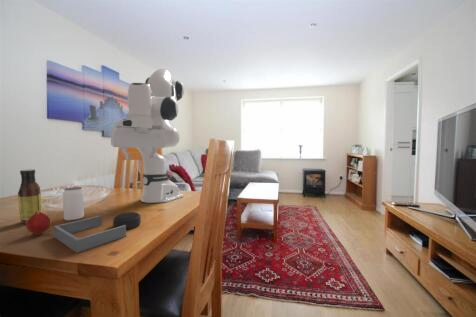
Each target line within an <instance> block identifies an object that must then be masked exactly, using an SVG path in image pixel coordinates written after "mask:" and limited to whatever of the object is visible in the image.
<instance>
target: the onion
mask: <svg viewBox="0 0 476 317" xmlns="http://www.w3.org/2000/svg"><path fill="white" fill-rule="evenodd" d="M50 226H51V219H50V217H49V216H48V215H46V214H45V213H43V212H42V213H41V212H40V211H36V212H35V214H34V215H33V216H31V217H30V218H29V220H28V221H27V224H26V226H25V227H26V230H27V231H28V232H30V233H32V234H35V235H36V236H40V235H43V233H44V232H45V231H47V230H48V229H49V228H50Z"/></svg>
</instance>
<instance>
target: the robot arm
mask: <svg viewBox="0 0 476 317" xmlns="http://www.w3.org/2000/svg"><path fill="white" fill-rule="evenodd" d="M127 89H128V90H127V108H128V112H127V118H123V119H121V120H117V121H114V123H113V126H114V128H113V130H112V131H111V136H110V145H111V146H112V147H113V148H121V152H122V154H124V159H125V160H131V159H132V158H131V156H132V155H131V154H129V153H128V148H135V149H137V151H138V152H139V153H140V155H141V157H142V162H143V174H142V183H143V190H142V195H141V198H140V202H143V203H147V204H149V203H150V204H151V203H153V204H154V203H155V204H156V203H168V202H172V201H174V200H177V199H180V198H183V197H184V194H183V193H180V189H179V186H178V185H177V184H176V183H174V182H173V181H171V180H170V178H172V177H173V174H172V173H167V162H166V161H167V160H166V158H165V157H164V156H163V155H162V154H159V153H157V152H158V149H164V148H165V149H166V148H172V147H173V148H174V147H176V146H177V145H178V144H179V143H180V139H181V138H180V133H179V131H178V130H177V129H176V127H173V126H172V125H171V121H173V120H175V119H176V118H177V117H178V114H179V106H178V101H180V100H181V99H182V98H183V97H184V94H185V87H184V83H183V82H181V81H179V80H174V79H173V76H172V74H171V73H170V72H169V71H168V70H167V69H164V68H159V69H156V70H155V71H154V72H153V73H152V74H151V75H150V76H149V77H148V78H145V82H144V83H143V82H131V83H130V84H129V85H128V88H127Z"/></svg>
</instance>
